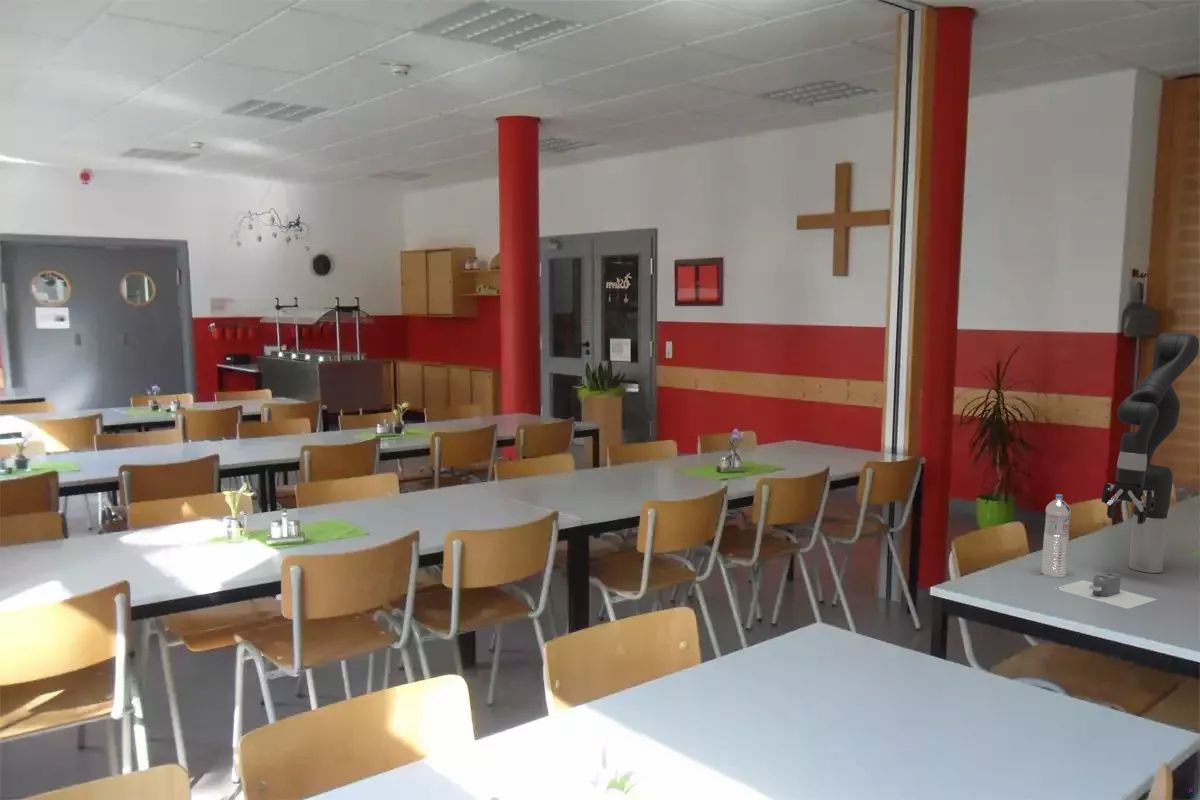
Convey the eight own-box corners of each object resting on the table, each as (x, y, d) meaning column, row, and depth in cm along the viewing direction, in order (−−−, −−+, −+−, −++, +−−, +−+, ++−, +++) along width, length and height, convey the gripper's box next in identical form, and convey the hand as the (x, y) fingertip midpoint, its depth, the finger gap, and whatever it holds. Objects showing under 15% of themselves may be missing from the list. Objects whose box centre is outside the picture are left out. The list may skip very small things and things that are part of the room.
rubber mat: (1082, 582, 274) (1082, 580, 274) (1157, 601, 257) (1157, 599, 257) (1052, 590, 265) (1052, 588, 265) (1127, 610, 248) (1127, 608, 248)
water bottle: (1052, 579, 276) (1058, 497, 274) (1036, 572, 283) (1041, 493, 281) (1071, 578, 278) (1077, 496, 276) (1054, 571, 285) (1060, 492, 282)
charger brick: (1108, 588, 266) (1109, 571, 266) (1122, 592, 263) (1123, 575, 262) (1085, 595, 259) (1087, 577, 259) (1100, 599, 256) (1101, 581, 256)
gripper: (1162, 471, 272) (1156, 525, 273) (1113, 464, 284) (1107, 515, 285) (1150, 471, 268) (1143, 526, 269) (1101, 464, 280) (1095, 516, 281)
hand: (1125, 520), depth 277 cm, fingers open, 8 cm apart
